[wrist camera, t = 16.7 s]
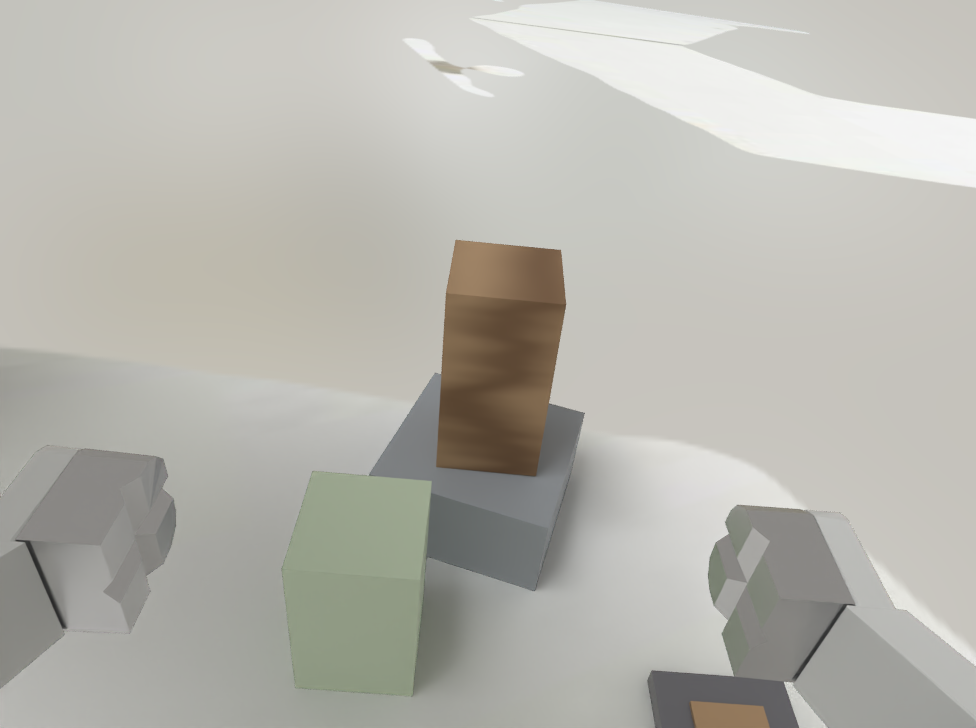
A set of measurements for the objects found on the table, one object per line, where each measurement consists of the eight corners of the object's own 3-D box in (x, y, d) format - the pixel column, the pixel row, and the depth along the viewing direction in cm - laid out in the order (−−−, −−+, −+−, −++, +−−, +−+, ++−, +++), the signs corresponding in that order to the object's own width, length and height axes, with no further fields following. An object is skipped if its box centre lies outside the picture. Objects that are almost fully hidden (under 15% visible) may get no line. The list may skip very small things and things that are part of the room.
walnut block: (436, 467, 35) (445, 293, 29) (445, 403, 39) (455, 239, 33) (535, 476, 35) (566, 304, 29) (534, 411, 39) (560, 250, 33)
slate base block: (369, 541, 37) (369, 474, 34) (430, 436, 44) (435, 372, 41) (533, 594, 35) (548, 528, 32) (569, 476, 42) (584, 412, 39)
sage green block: (295, 688, 30) (281, 569, 25) (320, 589, 34) (312, 471, 29) (412, 696, 30) (420, 580, 25) (423, 597, 34) (431, 480, 30)
